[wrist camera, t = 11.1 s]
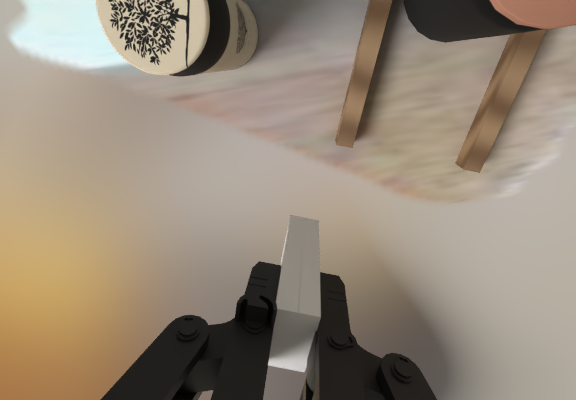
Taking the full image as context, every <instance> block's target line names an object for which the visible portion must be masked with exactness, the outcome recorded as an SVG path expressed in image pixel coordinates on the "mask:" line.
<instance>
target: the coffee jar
mask: <svg viewBox="0 0 576 400" xmlns="http://www.w3.org/2000/svg"><path fill="white" fill-rule="evenodd" d="M404 5H405V9H406V12H407V15H408V19H409V20H410V22H411V23H412V24H413V26H414V27H415V28H416V30H417V31H418V32H419V33H421V34H423V35H424V36H426V37H427V38H429V39H431V40H436V41H441V42H452V41H460V40H468V39H476V38H484V37H492V36H500V35H508V34H516V33H524V32H530V31H537V30H543V29H553V28H559V27H566V26H572V25H576V0H404Z"/></svg>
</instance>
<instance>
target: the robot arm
mask: <svg viewBox="0 0 576 400" xmlns="http://www.w3.org/2000/svg"><path fill="white" fill-rule="evenodd" d="M319 255H320V253H319V221H318V220H313V219H308V218H302V217H298V216H292V215H290V219H289V224H288V229H287V234H286V239H285V244H284V249H283V254H282V259H281V265H275V264H270V263H265V262H258V263H257V264H256V265H255V266H254V267H253V268H252V271H251V275H250V278H249V281H248V285H247V288H246V291H245V294H244V295H243V296H242V297H240V299H239V300H238V302H237V307H236V314H235V318H234V319H232V320H231V321H228V322H226V323H222V324H216V325H208V324H207V322H206V321H205V320H204V319H202V318H201V317H199V316H194V315H185V316H182V317H179V318H176V319H175V320H174V321H172V322H171V323H170V324H169V325H168V326H167V327H166V328H165V329H164V330H163V332H162V333H161V334H160V335H159V336H158V337H157V338H156V339H155V340H154V341H153V343H152V344H151V345H150V346H149V347H148V348H147V349H146V350H145V351H144V353H143V354H142V355H141V356H140V357H139V358H138V359H137V360H136V362H134V364H133V365H132V366H131V367H130V368H129V369H128V370H127V371H126V373H125V374H124V375H123V376H122V377H121V378H120V379H119V380H118V381H117V382H116V383H115V385H114V386H113V387H112V388H111V389H110V390H109V391H108V392H107V394H105V396H104V397H103V398H102V399H101V400H198V398H199V397H200V395H201V394H202V391H208V390H214V391H213V394H212V397H211V400H263V395H264V388H265V381H266V374H267V368H268V365H270V366H275V367H280V368H285V369H291V370H296V371H301V372H305V369H306V366H307V377H306V380H305V383H304V386H303V390H302V393H301V397H300V400H437V399H436V397H435V395H434V393H433V392H432V390H431V388H430V386H429V385H428V383H427V381H426V379H425V378H424V376H423V374H422V372H421V371H420V369H419V368H418V367H417V366H416V364H415V363H413V362H412V361H411V360H410V359H409V358H407V357H405V356H403V355H401V354H396V353H390V354H386V355H385V356H384V357H383V358H380V357H378V356H375V355H373V354H371V353H369V352H367V351H366V350H364V349H363V348H361V347H360V346H359V345H358V344H357V341H356V339H355V337H354V336H353V335H352V333H351V331H350V324H349V317H348V308H347V303H346V295H345V294H346V293H345V285H344V283H343V282H342V280H341V279H340V277H339V276H336V275H331V274H326V273H321V272H320V256H319Z"/></svg>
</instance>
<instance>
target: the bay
mask: <svg viewBox="0 0 576 400" xmlns="http://www.w3.org/2000/svg"><path fill="white" fill-rule="evenodd" d="M391 4H392V0H369V4H368V8H367V12H366V16H365V21H364V25H363V29H362V33H361V37H360V41H359V45H358V49H357V53H356V57H355V62H354V66H353V70H352V74H351V78H350V82H349V86H348V90H347V94H346V98H345V103H344V107H343V111H342V115H341V119H340V123H339V127H338V131H337V135H336V140H335V141H336V145H339V146H345V147H350V148H353V144H354V141H355V137H356V133H357V129H358V126H359V122H360V118H361V115H362V111H363V107H364V104H365V100H366V96H367V93H368V89H369V85H370V81H371V78H372V74H373V70H374V67H375V63H376V59H377V56H378V52H379V48H380V45H381V41H382V37H383V33H384V30H385V26H386V22H387V19H388V15H389V11H390V8H391ZM546 30H547V29H543V30H537V31H530V32H524V33H516V34H510V37H509V39H508V42H507V44H506V46H505V49H504V51H503V53H502V56H501V58H500V60H499V63H498V65H497V67H496V70H495V72H494V74H493V77H492V79H491V81H490V84H489V86H488V88H487V91H486V93H485V95H484V98H483V100H482V102H481V105H480V107H479V109H478V112H477V114H476V116H475V119H474V121H473V124H472V126H471V128H470V131H469V133H468V135H467V138H466V140H465V142H464V145H463V147H462V149H461V152H460V154H459V156H458V159H457V161H456V164H457V165H458V166H460V167H461V168H462V169H464V170H469V171H474V172H479V173H480V171H481V169H482V167H483V165H484V162H485V160H486V158H487V156H488V154H489V152H490V150H491V148H492V145H493V143H494V141H495V139H496V137H497V135H498V133H499V130H500V128H501V126H502V124H503V122H504V120H505V118H506V116H507V113H508V111H509V109H510V107H511V105H512V103H513V101H514V98H515V96H516V94H517V92H518V90H519V88H520V86H521V84H522V81H523V79H524V77H525V75H526V73H527V71H528V69H529V66H530V64H531V62H532V60H533V58H534V56H535V54H536V51H537V49H538V47H539V45H540V43H541V41H542V39H543V37H544V34H545V32H546Z"/></svg>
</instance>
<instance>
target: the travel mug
mask: <svg viewBox="0 0 576 400" xmlns="http://www.w3.org/2000/svg"><path fill="white" fill-rule="evenodd" d="M96 6H97V12H98V17H99V20H100V23H101V26H102V28H103V31H104V33H105V35H106V37H107V39H108V40H109V42H110V43H111V45H112V46H113V47H114V49H115V50H116V51H117V52H118V53H119V55H120V56H122V57H123V58H124V59H125V60H126V61H127V62H128V63H130V64H131V65H133V66H134V67H136V68H138V69H140V70H142V71H145V72H147V73H151V74H157V75H172V76H189V75H197V74H204V73H212V72H219V71H226V70H233V69H237V68H239V67H241V66H243V65H244V64H245V63H246V62H248V61H249V59H250V58H251V57H252V55H253V53H254V51H255V49H256V46H257V41H258V28H257V23H256V20H255V17H254V15H253V13H252V11H251V9H250V8H249V7H248V5H247V4H246V3H245V2H244V1H243V0H96Z"/></svg>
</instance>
